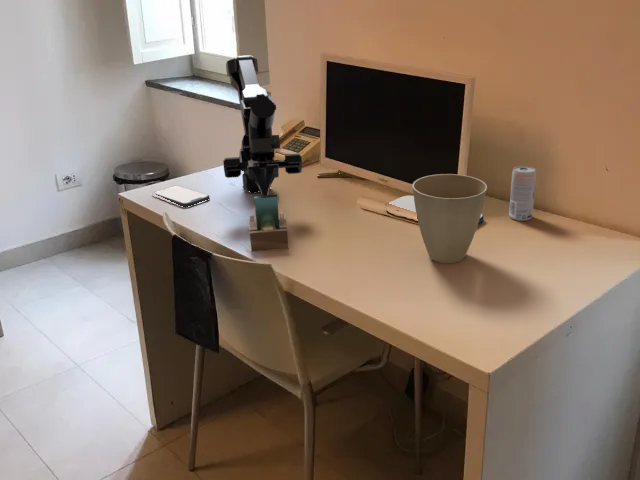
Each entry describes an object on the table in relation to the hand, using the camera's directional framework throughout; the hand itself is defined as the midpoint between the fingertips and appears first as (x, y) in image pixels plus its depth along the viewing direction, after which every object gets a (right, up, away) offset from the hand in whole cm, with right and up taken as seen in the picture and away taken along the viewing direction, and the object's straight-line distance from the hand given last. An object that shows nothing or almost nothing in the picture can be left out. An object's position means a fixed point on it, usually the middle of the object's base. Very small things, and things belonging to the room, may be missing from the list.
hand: (265, 197), depth 162 cm
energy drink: (+61, -5, +1) cm, 61 cm away
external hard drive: (+41, -5, +4) cm, 41 cm away
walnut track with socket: (+1, -9, -4) cm, 10 cm away
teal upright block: (+1, -10, -6) cm, 12 cm away
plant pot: (+40, -14, -18) cm, 46 cm away
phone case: (-25, +1, +23) cm, 34 cm away
